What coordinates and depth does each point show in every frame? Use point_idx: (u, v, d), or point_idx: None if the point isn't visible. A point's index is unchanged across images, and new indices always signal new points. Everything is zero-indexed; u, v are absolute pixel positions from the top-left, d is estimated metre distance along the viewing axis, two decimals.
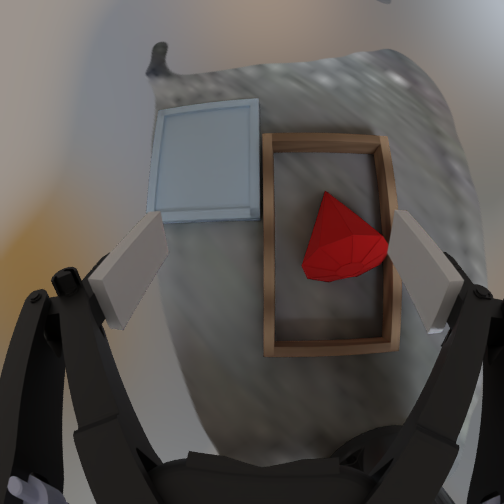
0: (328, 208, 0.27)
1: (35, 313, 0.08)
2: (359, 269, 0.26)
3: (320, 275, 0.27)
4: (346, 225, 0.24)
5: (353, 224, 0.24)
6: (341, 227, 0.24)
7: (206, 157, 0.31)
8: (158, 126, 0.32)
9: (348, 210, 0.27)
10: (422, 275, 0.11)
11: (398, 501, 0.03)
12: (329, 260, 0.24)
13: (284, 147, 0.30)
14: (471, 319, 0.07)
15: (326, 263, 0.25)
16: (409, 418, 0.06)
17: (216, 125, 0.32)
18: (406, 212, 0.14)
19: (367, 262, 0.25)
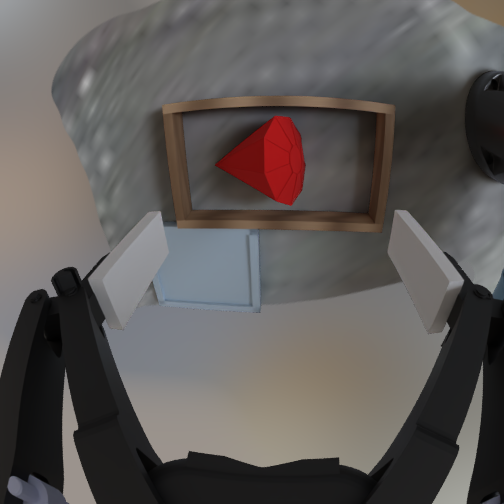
0: (234, 173, 0.28)
1: (35, 313, 0.08)
2: (295, 147, 0.25)
3: (300, 181, 0.28)
4: (253, 172, 0.24)
5: (252, 163, 0.24)
6: (256, 176, 0.25)
7: (202, 267, 0.37)
8: (175, 304, 0.40)
9: (236, 155, 0.27)
10: (422, 275, 0.11)
11: (398, 501, 0.03)
12: (287, 185, 0.26)
13: (187, 204, 0.32)
14: (471, 319, 0.07)
15: (289, 186, 0.26)
16: (409, 418, 0.06)
17: (170, 260, 0.37)
18: (406, 212, 0.14)
19: (289, 142, 0.24)
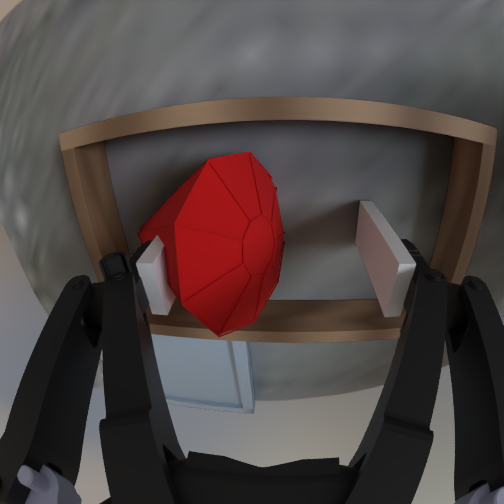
0: None
1: (74, 300, 0.09)
2: (260, 220, 0.13)
3: (273, 273, 0.16)
4: None
5: (166, 266, 0.12)
6: None
7: (169, 365, 0.24)
8: None
9: (150, 235, 0.14)
10: (379, 260, 0.12)
11: (379, 495, 0.03)
12: (241, 302, 0.13)
13: None
14: (426, 303, 0.08)
15: (248, 299, 0.14)
16: (377, 409, 0.07)
17: None
18: (371, 203, 0.15)
19: (243, 215, 0.12)
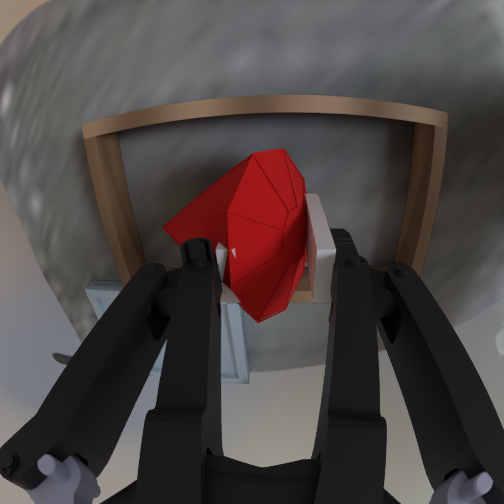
0: None
1: (144, 289, 0.09)
2: (295, 211, 0.14)
3: (302, 263, 0.17)
4: None
5: None
6: None
7: None
8: None
9: (185, 226, 0.15)
10: (311, 249, 0.13)
11: (346, 492, 0.03)
12: (278, 288, 0.14)
13: (137, 264, 0.22)
14: (349, 290, 0.09)
15: (283, 286, 0.14)
16: (322, 403, 0.07)
17: None
18: (315, 195, 0.16)
19: (283, 206, 0.13)
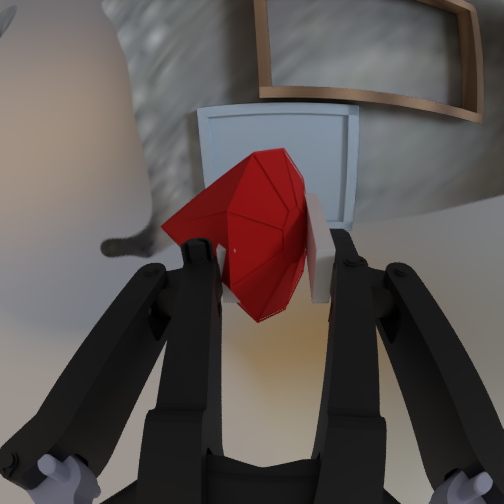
0: None
1: (144, 289, 0.09)
2: (295, 211, 0.14)
3: (301, 262, 0.16)
4: None
5: None
6: None
7: None
8: None
9: (184, 225, 0.15)
10: (310, 249, 0.13)
11: (346, 492, 0.03)
12: (278, 288, 0.14)
13: None
14: (349, 290, 0.09)
15: (283, 286, 0.14)
16: (322, 403, 0.07)
17: (236, 155, 0.27)
18: (315, 195, 0.16)
19: (283, 205, 0.13)
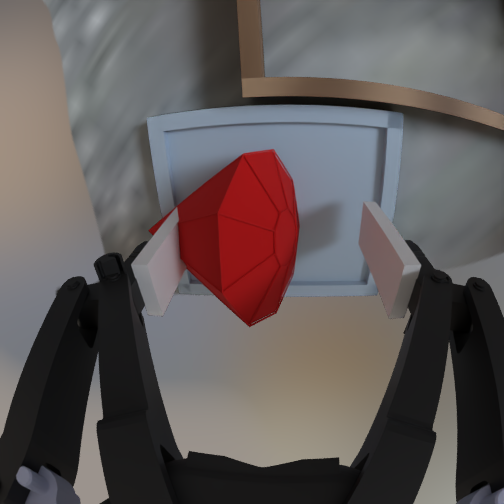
0: None
1: (70, 301, 0.09)
2: (285, 213, 0.14)
3: (292, 265, 0.16)
4: (203, 276, 0.12)
5: (199, 258, 0.12)
6: (208, 282, 0.13)
7: None
8: None
9: None
10: (384, 262, 0.12)
11: (381, 496, 0.03)
12: (269, 291, 0.14)
13: (262, 58, 0.13)
14: (431, 305, 0.08)
15: (274, 289, 0.14)
16: (380, 409, 0.07)
17: None
18: (374, 203, 0.15)
19: (273, 207, 0.13)
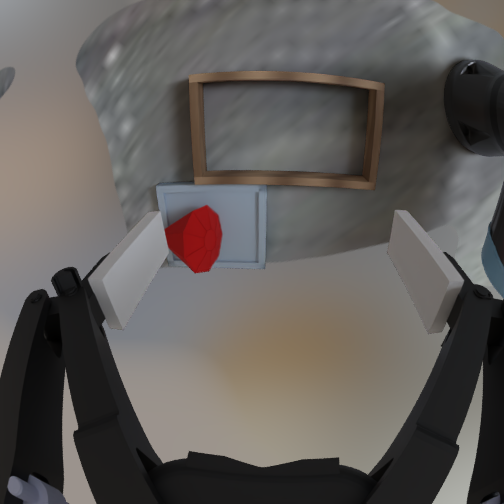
0: (168, 246, 0.38)
1: (35, 313, 0.08)
2: (210, 230, 0.36)
3: (216, 251, 0.39)
4: (178, 253, 0.35)
5: (177, 247, 0.35)
6: (180, 256, 0.35)
7: None
8: (183, 264, 0.43)
9: (167, 236, 0.37)
10: (422, 275, 0.11)
11: (398, 501, 0.03)
12: (203, 260, 0.36)
13: (204, 163, 0.35)
14: (471, 319, 0.07)
15: (205, 259, 0.37)
16: (409, 418, 0.06)
17: None
18: (406, 212, 0.14)
19: (204, 229, 0.35)
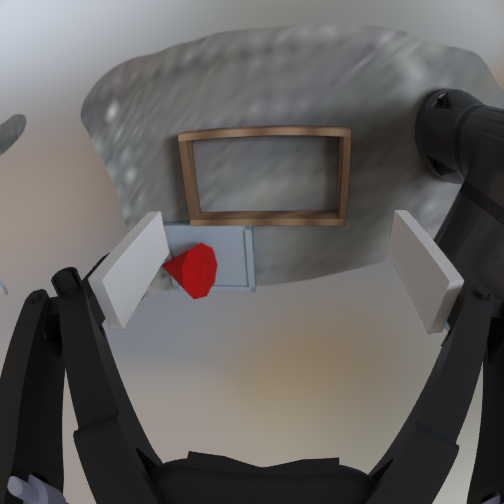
0: None
1: (35, 313, 0.08)
2: (205, 264, 0.44)
3: (212, 279, 0.46)
4: (179, 283, 0.42)
5: (178, 278, 0.42)
6: None
7: None
8: None
9: (171, 268, 0.45)
10: (422, 275, 0.11)
11: (398, 501, 0.03)
12: (200, 288, 0.44)
13: (197, 208, 0.43)
14: (471, 319, 0.07)
15: (202, 287, 0.44)
16: (409, 418, 0.06)
17: (184, 251, 0.47)
18: (406, 212, 0.14)
19: (199, 263, 0.43)
